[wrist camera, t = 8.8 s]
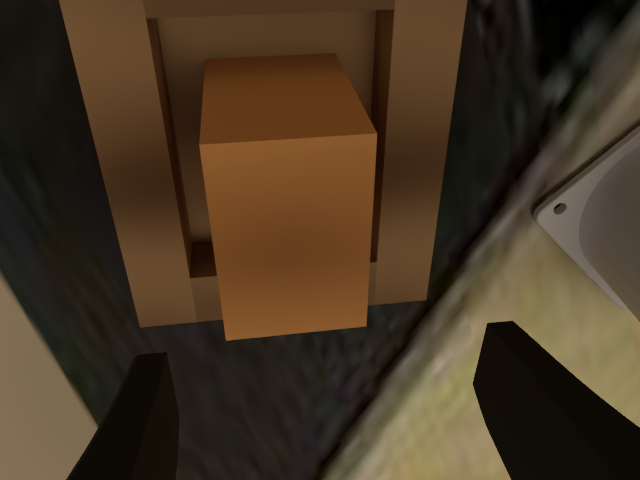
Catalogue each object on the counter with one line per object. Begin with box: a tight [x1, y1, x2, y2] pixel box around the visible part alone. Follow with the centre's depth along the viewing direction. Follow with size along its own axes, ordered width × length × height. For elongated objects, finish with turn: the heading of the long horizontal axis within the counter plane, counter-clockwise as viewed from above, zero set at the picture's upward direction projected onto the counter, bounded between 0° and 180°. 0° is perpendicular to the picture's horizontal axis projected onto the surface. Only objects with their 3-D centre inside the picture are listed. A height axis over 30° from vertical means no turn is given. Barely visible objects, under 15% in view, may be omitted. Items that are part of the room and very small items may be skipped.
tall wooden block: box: [199, 53, 377, 341], centre depth 17 cm, size 6×4×6 cm, turn 0°
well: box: [59, 0, 467, 327], centre depth 18 cm, size 12×10×2 cm
